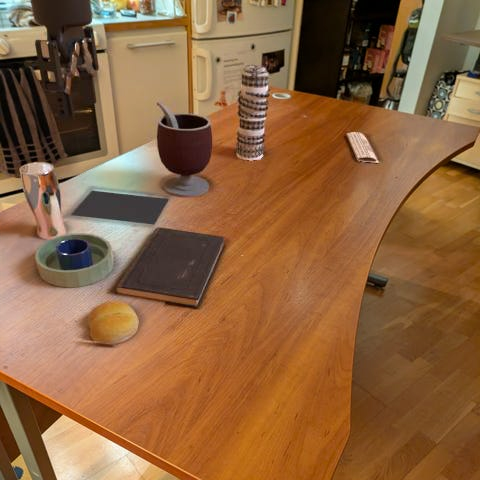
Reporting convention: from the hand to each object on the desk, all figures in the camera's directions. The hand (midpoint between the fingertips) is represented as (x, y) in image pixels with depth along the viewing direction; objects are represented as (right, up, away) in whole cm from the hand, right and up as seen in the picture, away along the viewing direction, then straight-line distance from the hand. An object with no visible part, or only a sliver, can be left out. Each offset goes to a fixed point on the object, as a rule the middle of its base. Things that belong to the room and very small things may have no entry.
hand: (78, 111), depth 70 cm
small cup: (-8, -21, +22) cm, 31 cm away
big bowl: (-8, -21, +22) cm, 32 cm away
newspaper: (+65, +25, +84) cm, 109 cm away
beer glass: (-17, -13, +32) cm, 38 cm away
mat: (-5, -5, +42) cm, 43 cm away
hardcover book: (+11, -21, +24) cm, 34 cm away
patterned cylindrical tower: (+28, +19, +74) cm, 81 cm away
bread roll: (+3, -33, +9) cm, 35 cm away
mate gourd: (+9, +4, +54) cm, 55 cm away
